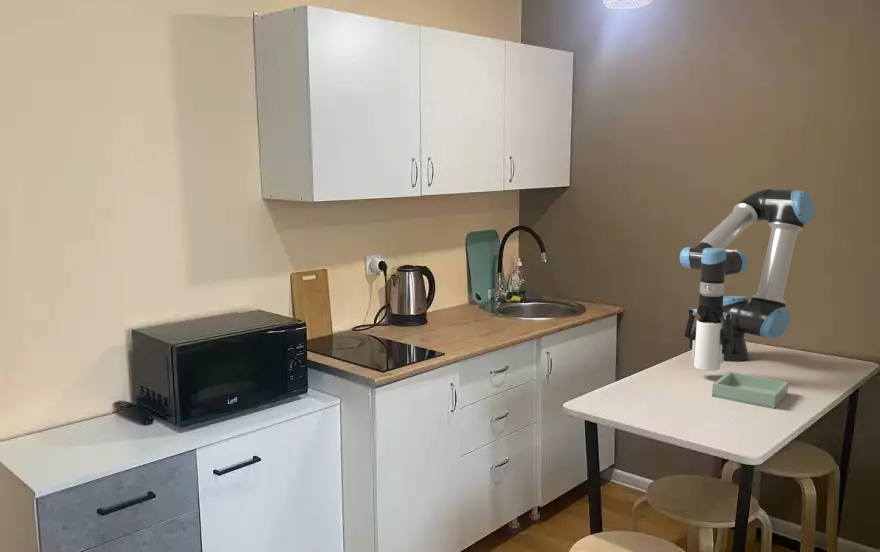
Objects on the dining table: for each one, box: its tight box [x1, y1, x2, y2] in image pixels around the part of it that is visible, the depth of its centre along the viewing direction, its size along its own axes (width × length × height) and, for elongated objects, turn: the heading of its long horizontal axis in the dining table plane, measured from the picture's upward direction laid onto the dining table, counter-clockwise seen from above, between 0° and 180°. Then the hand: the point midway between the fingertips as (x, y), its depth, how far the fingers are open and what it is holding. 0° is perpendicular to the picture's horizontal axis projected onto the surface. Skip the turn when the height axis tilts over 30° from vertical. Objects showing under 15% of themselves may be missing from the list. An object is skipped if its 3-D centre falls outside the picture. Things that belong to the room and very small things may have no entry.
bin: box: [711, 371, 789, 410], centre depth 226 cm, size 18×18×4 cm
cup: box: [693, 318, 723, 372], centre depth 243 cm, size 8×8×16 cm
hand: (707, 360), depth 244 cm, fingers closed on cup, 8 cm apart
